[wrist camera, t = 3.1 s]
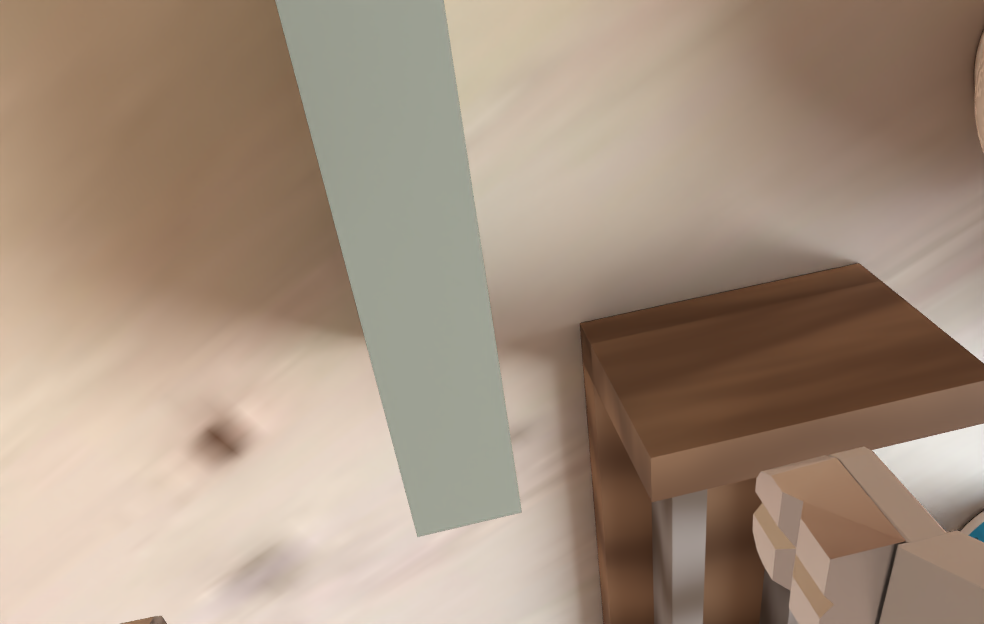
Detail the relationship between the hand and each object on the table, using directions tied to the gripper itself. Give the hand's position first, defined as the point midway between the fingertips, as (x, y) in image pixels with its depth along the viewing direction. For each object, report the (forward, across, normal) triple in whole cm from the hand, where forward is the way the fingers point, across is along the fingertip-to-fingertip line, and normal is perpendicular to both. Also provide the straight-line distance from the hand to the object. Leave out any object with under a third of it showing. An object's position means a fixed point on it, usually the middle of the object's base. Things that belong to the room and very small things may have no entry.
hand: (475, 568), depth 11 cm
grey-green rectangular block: (+18, 0, 0) cm, 18 cm away
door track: (+18, -12, +22) cm, 31 cm away
